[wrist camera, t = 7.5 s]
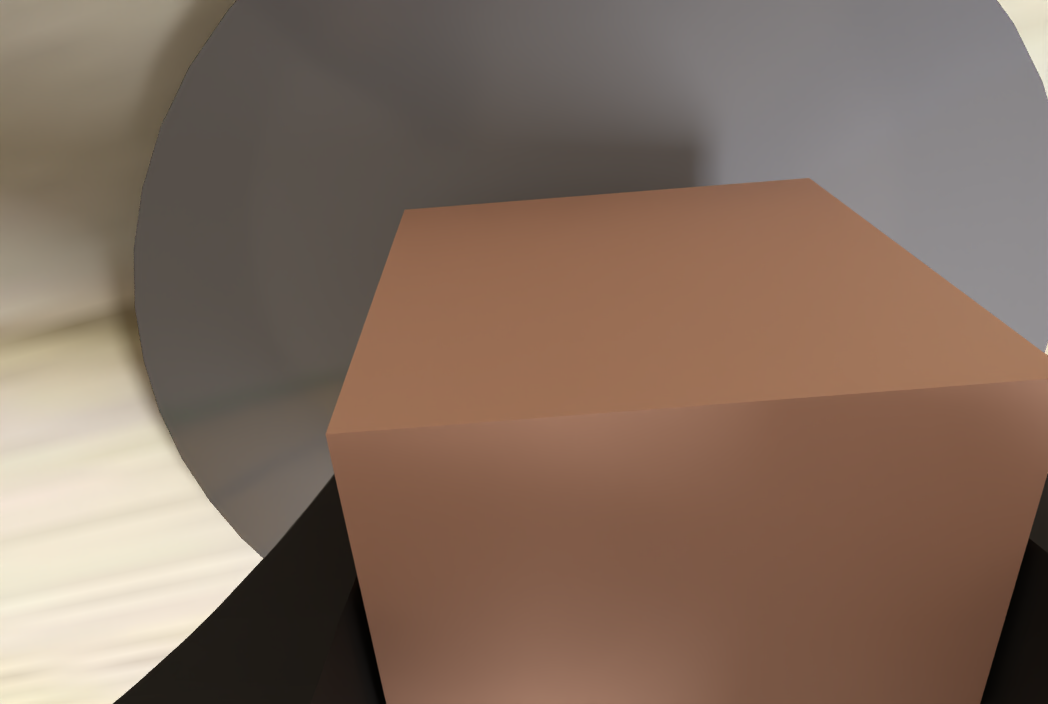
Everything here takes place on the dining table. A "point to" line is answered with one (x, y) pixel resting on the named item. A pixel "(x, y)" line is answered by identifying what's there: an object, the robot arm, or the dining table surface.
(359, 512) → the terracotta block
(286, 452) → the charcoal plate
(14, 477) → the dining table surface
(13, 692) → the dining table surface
